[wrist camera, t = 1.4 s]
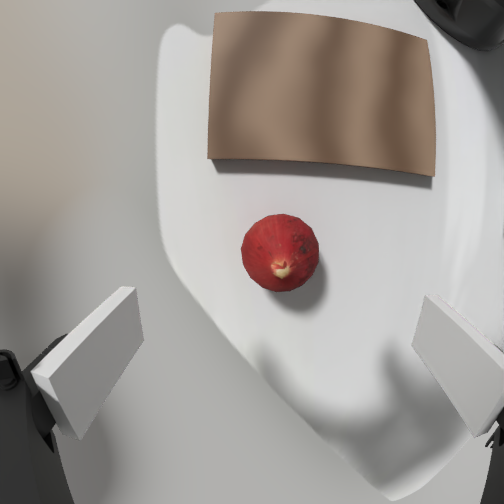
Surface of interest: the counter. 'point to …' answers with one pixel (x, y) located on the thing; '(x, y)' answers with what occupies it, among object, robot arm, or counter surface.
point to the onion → (280, 252)
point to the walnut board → (320, 92)
